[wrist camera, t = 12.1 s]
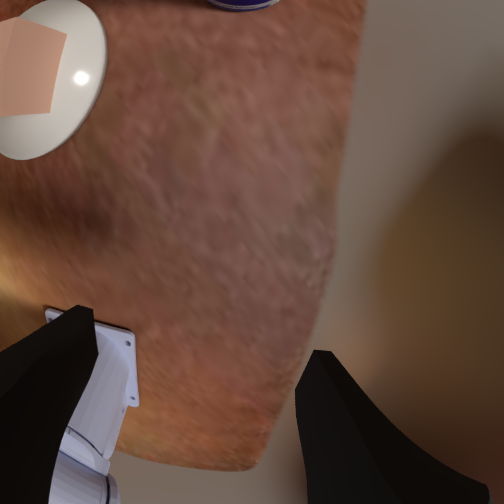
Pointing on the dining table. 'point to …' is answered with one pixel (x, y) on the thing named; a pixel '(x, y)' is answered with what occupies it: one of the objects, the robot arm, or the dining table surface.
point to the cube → (28, 66)
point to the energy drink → (242, 4)
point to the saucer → (61, 81)
